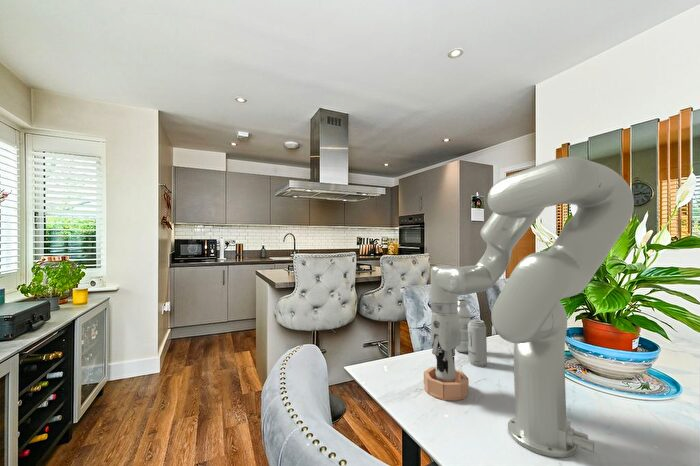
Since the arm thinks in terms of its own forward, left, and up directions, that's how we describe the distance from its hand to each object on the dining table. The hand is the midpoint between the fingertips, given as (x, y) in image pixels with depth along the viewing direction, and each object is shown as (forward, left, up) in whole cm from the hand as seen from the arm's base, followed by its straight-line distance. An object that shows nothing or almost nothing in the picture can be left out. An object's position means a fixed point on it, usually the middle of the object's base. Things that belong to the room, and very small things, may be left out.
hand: (445, 370), depth 87 cm
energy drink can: (+1, -26, -6) cm, 26 cm away
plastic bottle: (+10, -34, -6) cm, 35 cm away
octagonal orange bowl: (0, 0, -6) cm, 6 cm away
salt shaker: (0, 0, -4) cm, 4 cm away
